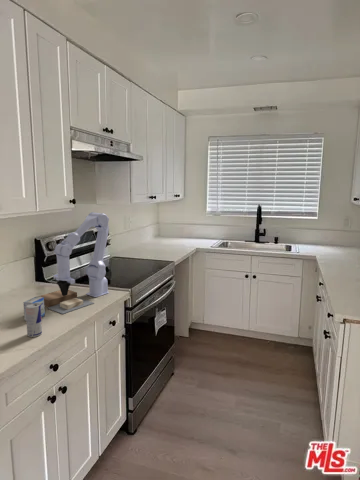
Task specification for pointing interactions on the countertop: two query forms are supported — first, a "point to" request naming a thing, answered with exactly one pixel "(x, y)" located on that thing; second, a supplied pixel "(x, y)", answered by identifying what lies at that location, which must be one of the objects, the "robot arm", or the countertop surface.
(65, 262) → the robot arm
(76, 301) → the birch tile
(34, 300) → the medicine box
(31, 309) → the energy drink
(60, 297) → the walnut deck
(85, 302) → the slate mat
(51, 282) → the countertop surface
